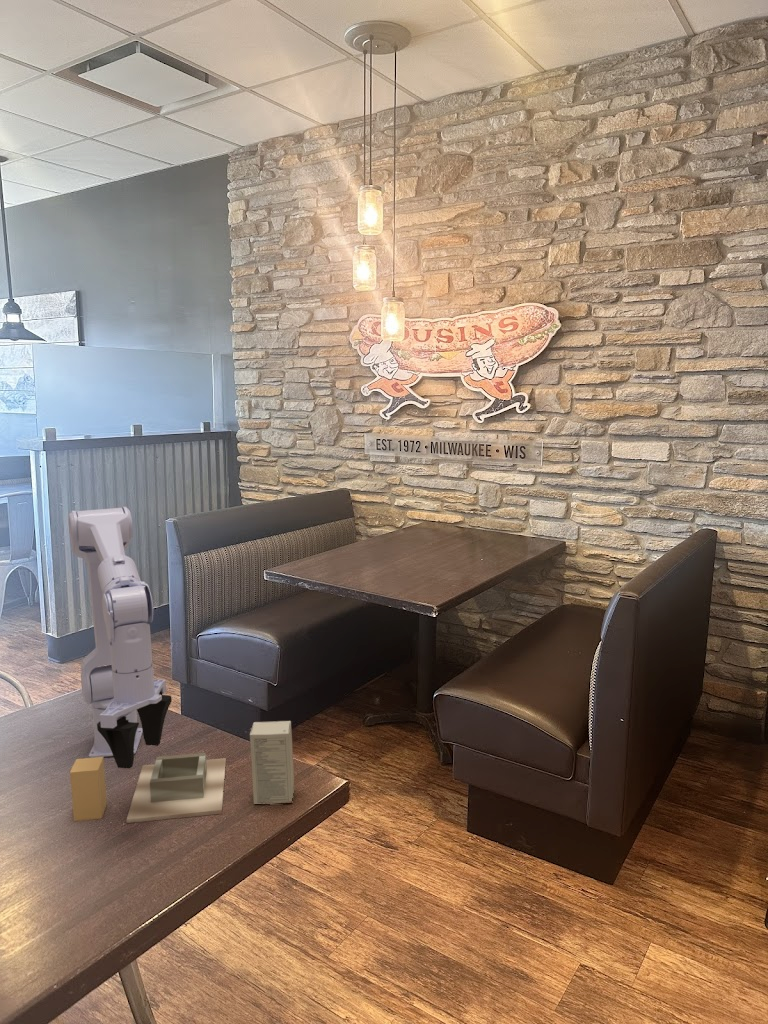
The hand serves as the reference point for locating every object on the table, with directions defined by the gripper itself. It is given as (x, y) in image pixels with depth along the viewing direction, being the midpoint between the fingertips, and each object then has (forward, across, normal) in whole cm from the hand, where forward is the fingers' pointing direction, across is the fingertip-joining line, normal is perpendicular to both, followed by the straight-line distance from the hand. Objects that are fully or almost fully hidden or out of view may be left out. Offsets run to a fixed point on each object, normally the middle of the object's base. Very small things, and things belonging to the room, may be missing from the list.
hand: (139, 755), depth 108 cm
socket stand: (+10, +9, -1) cm, 14 cm away
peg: (+10, +1, +10) cm, 14 cm away
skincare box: (+11, +10, -17) cm, 22 cm away
